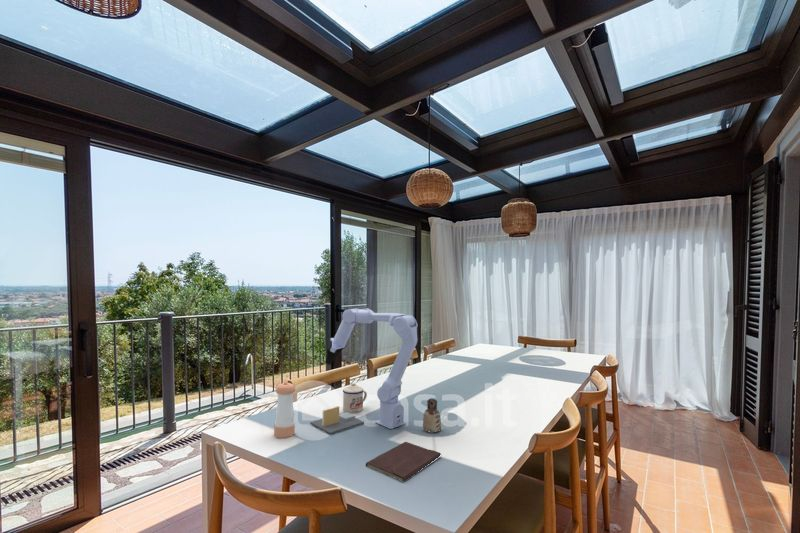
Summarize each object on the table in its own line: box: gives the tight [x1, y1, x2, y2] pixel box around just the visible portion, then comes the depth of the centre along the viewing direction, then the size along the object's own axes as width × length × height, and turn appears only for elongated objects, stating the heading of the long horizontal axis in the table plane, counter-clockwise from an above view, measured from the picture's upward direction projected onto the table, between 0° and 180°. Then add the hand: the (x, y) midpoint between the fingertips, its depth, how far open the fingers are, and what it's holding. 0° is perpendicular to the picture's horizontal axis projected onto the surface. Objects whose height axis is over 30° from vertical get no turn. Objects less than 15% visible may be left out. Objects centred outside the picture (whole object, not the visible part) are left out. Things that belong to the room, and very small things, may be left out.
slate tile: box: [339, 411, 356, 422], centre depth 154 cm, size 6×5×1 cm
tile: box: [321, 405, 340, 426], centre depth 148 cm, size 1×7×6 cm, turn 134°
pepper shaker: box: [273, 381, 296, 439], centre depth 140 cm, size 7×7×19 cm
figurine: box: [422, 397, 442, 432], centre depth 146 cm, size 7×7×12 cm
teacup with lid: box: [342, 382, 368, 414], centre depth 167 cm, size 12×9×12 cm
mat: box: [309, 412, 365, 436], centre depth 150 cm, size 14×16×1 cm
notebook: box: [365, 441, 442, 482], centre depth 120 cm, size 15×20×2 cm
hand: (330, 360), depth 165 cm, fingers open, 7 cm apart
